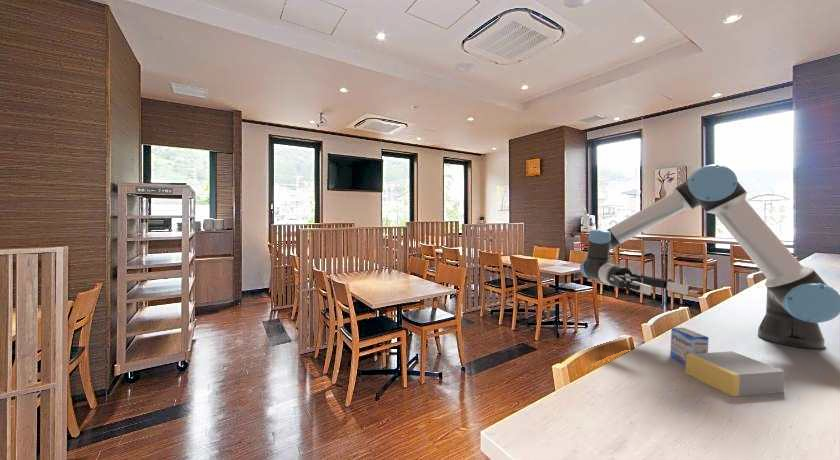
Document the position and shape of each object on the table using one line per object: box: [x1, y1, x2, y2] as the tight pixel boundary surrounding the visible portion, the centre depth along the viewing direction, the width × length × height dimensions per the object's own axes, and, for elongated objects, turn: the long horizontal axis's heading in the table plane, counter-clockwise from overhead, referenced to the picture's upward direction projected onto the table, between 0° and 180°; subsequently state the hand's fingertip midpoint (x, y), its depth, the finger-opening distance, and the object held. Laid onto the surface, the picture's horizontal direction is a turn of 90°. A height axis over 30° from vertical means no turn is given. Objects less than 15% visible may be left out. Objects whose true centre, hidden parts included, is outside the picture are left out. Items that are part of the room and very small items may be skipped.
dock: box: [685, 350, 786, 397], centre depth 87 cm, size 14×12×5 cm
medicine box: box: [669, 327, 710, 365], centre depth 98 cm, size 8×4×9 cm, turn 5°
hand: (669, 290), depth 105 cm, fingers open, 13 cm apart
